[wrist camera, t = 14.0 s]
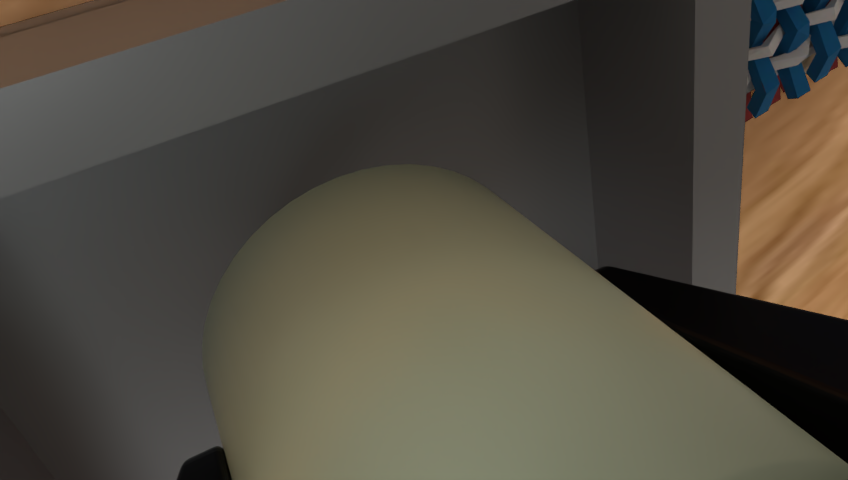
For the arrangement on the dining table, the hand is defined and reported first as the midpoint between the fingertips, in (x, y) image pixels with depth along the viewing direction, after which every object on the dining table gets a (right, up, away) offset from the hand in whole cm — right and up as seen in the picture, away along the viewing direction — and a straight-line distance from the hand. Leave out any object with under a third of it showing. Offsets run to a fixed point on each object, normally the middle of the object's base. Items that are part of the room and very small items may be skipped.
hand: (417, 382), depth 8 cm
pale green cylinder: (0, +1, +1) cm, 1 cm away
